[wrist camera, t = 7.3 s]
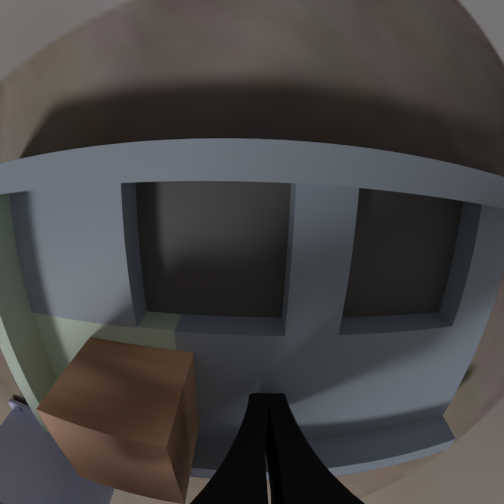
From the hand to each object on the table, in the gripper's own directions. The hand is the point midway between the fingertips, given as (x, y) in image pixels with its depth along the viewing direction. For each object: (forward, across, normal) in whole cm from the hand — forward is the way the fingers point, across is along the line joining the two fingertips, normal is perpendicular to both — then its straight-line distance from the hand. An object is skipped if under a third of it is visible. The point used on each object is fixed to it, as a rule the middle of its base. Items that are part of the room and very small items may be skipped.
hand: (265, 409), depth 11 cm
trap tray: (+2, 0, -3) cm, 4 cm away
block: (+1, +5, 0) cm, 5 cm away
